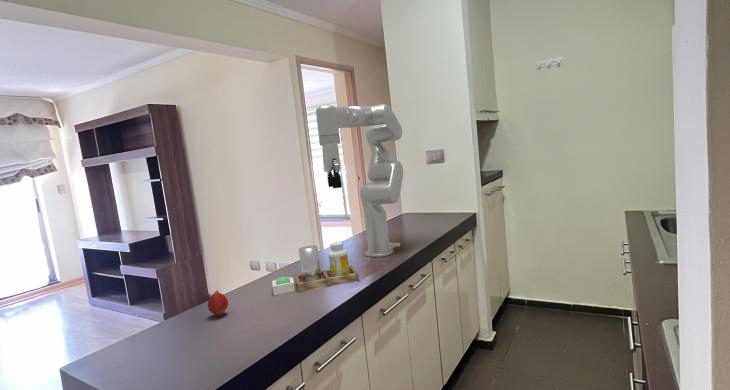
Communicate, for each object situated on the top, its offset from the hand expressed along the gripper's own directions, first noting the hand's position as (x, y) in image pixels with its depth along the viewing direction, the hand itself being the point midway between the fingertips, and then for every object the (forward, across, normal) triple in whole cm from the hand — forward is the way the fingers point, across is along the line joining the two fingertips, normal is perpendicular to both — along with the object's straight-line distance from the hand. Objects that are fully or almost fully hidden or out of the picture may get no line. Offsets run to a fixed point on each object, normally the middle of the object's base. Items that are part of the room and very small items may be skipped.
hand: (335, 187), depth 143 cm
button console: (+33, +8, -23) cm, 41 cm away
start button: (+33, +8, -23) cm, 41 cm away
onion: (+34, +18, -43) cm, 57 cm away
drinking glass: (+32, +7, -13) cm, 36 cm away
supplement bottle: (+32, +7, -3) cm, 33 cm away
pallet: (+33, +7, -8) cm, 35 cm away
